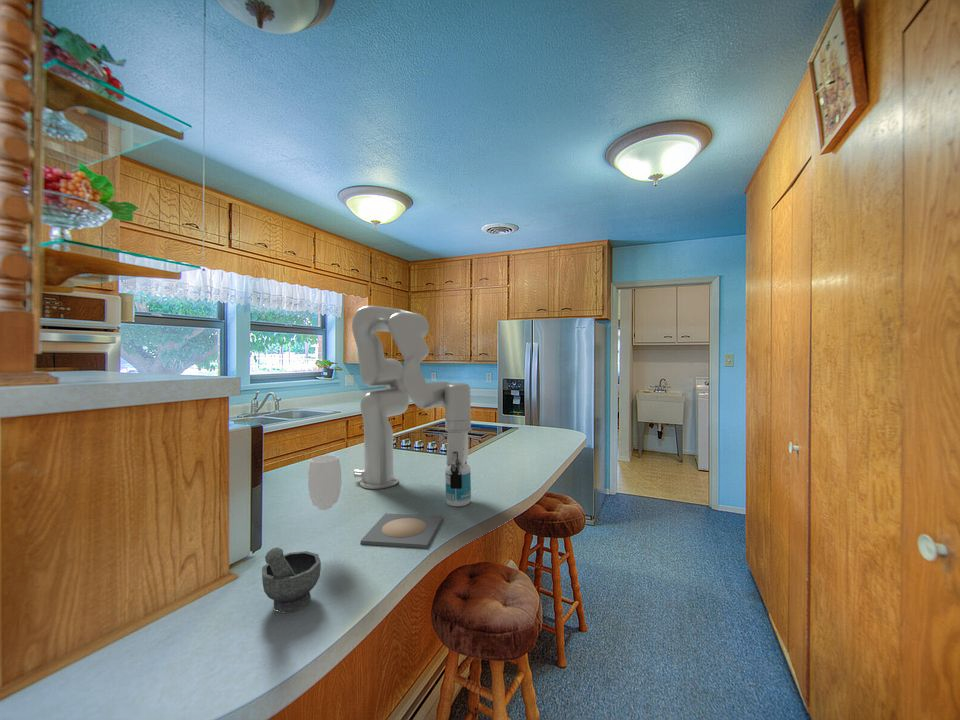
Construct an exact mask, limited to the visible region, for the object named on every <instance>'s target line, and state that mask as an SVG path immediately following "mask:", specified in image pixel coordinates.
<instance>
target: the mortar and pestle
mask: <svg viewBox="0 0 960 720" xmlns="http://www.w3.org/2000/svg"><path fill="white" fill-rule="evenodd" d="M264 559H265V560H264V561H265V563H266V564H265V565H263V566H262V567H261V576H262V577H261V579H262V581H261V582H262V587H263V592H264V593H265V595H266V596H267V597H268V598H269V599H270V600H272V601H273V610H274V609H275V610H278V611H280V612H282V613H281V614H284V613H283V612H289V613H295V612H296V611H299V610H301V609H302V608H303V609H304V608H305V607H306V606H307V605H308V604H309V603H310V602H311V598H312V596H311V591H312V590H313V589H314V587H315V586H316V585H317V583H318V581H319V579H320V575H321V568H322V567H321V566H322V565H321V559H320V556H319V554H318V553H315V552H311V551H307V550H306V551H303V550H302V551H295V552H288V553H285V554H284V551H283V549H282V548H280V547H278V546H277V547H274V548H271V549H270V550H269V551H268V552H267V553H266V554H265V556H264ZM300 608H301V609H300ZM294 611H295V612H294ZM280 612H279V613H280Z"/></svg>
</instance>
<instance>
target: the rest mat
mask: <svg viewBox="0 0 960 720" xmlns="http://www.w3.org/2000/svg"><path fill="white" fill-rule="evenodd" d="M382 515H383V516H381V517H380V518H379V519H378V521H377V522H376V523H375V524H374V525H373V526H372V527H371V529H370V530H369V531H368V532H367V533H366V534H365V535H364V536H363V537H362V538H361V540H360V545H370V546H386V547H403V548H404V547H405V548H417V549H418V548H419V549H428V547H429V545H430V543H432V542H431V541H432V540H433V538H434V536H435V534H436V532H437V531H438V529H439V527H440V525H441V523H442V522H443V520H442V519H444V517H443V515H442V516H441V515H425V514H405V513H387V512H386V513H384V514H382Z"/></svg>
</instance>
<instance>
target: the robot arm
mask: <svg viewBox="0 0 960 720" xmlns="http://www.w3.org/2000/svg"><path fill="white" fill-rule="evenodd" d="M429 328H430V327H429V322H428V320H427V318H426V317H425V316H423V315H422V314H420V313H416V312H411V311H408V310H405V309H401V308H394V307H387V306H379V305H365V306H362V307H360V308H359V309H357V310H356V311H355V313H354V316H353V317H352V321H351V329H352V334H353V338H354V342H355V345H356V349H357V356H358V364H359V369H360V370H359V371H360V376H361V380H362V383H363V384H364V385H365V386H367V387H370V388H371V387H383V386H384V387H385V389H379V390H371V391H369V392H367V393H365V394H364V395H363V396H362V397H361V400H360V405H359V406H360V411H361V415H362V422H363V423H362V424H363V441H364V442H363V444H364V445H363V449H364V453H363V456H364V460H363V461H364V464H363V465H364V468H363V470H361V469H354V471H353V476H354V478H360V481H359V485H360V486H361V488H364V489H368V490H369V489H370V490H379V489H380V490H381V489H387V488H390V487H394V486H395V485H397V484H398V482H399V478H398V476H396V475H394V430H393V426H392V424H391V423H390V420H389V418H390V417H395V416H399V415H402V414H404V413H405V412H406V411H407V410H408V409H409V408H408V407H409V403H410V399H411V401H412V402H413V404H414V405H415V406H417V407H418V408H419V409H422V410H429V409H433V408H440V407H444V417H445V422H444V423H445V432H447V439H446V440H447V441H446V467H447V466H450V465H451V471H450V487H451V489H461V488H462V474H461V466H463V465H464V464H467V465H468V458H469V436H468V435H469V433H468V432H469V431H471V430H472V418H471V417H472V415H471V414H472V413H471V411H472V410H471V387H470V385H469V384H467V383H465V382H453V383H452V382H447V381H435V382H434V381H433V382H427V381H426V380H425V377H424V375H423V373H422V371H421V362H423V361H424V360H425V359H427V357H428V355H429V354H430V348H429V346H428V344H427V343H426V341H425V339H424V338H425V337H426V336H427V335H428V333H429V330H430V329H429ZM376 332H384V333H390V335H391V337H392V339H393V341H394V343H395V345H396V347H397V349H398V350H399V353H400V355H401V357H402V359H403V361H404V365H403V364H402V362H400V361H399V360H398V359H396V358H392V357H391V358H388V357H387V358H386V357H385V353H384V346H383V343H382V341H381V340H380V338H379V336H378V335H377V333H376ZM409 398H410V399H409ZM456 463H460V464H456ZM457 467H459V468H457Z"/></svg>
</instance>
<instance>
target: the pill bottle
mask: <svg viewBox="0 0 960 720" xmlns="http://www.w3.org/2000/svg"><path fill="white" fill-rule="evenodd" d="M456 464H460V463H456ZM457 468H459V467H457ZM450 471H451V465H450V466H447V465H446V467H445V471H444V472H445V473H444V474H445V502H446V504H447V505H448V506H451V507H465V506H468V505H469V504H470V503H471V501H472V487H471V486H472V484H471V481H472V480H471V474H472V473H471V467H470V466H469V464H468V463H467V464H464V465H463V466H461V474H462V488H461V489H451V487H450Z"/></svg>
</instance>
